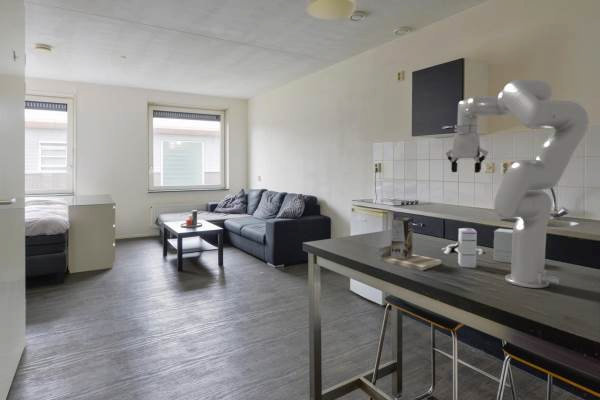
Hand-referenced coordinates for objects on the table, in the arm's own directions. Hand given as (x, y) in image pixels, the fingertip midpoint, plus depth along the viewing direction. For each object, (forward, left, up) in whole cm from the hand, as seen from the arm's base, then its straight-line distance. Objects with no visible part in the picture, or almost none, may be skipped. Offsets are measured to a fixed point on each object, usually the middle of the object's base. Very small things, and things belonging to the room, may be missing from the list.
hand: (465, 172), depth 155 cm
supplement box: (-14, -8, -36) cm, 40 cm away
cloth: (+6, -9, -37) cm, 39 cm away
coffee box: (+15, +23, -35) cm, 44 cm away
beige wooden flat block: (+11, +23, -36) cm, 44 cm away
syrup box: (-7, +11, -36) cm, 39 cm away
